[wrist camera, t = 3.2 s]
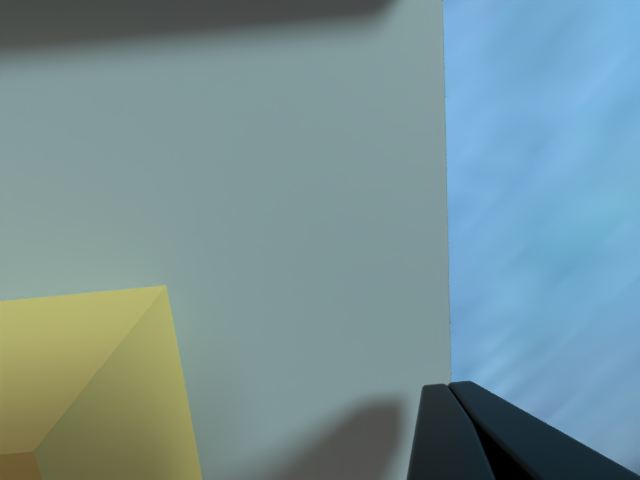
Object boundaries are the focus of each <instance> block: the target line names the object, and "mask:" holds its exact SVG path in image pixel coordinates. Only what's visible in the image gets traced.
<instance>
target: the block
mask: <svg viewBox="0 0 640 480" xmlns="http://www.w3.org/2000/svg"><path fill="white" fill-rule="evenodd" d="M0 480H202V475H201V469H200V464H199V458H198V453H197V448H196V442H195V437H194V431H193V426H192V421H191V415H190V410H189V404H188V399H187V394H186V388H185V383H184V378H183V372H182V367H181V361H180V356H179V351H178V345H177V340H176V334H175V329H174V324H173V318H172V313H171V307H170V302H169V297H168V291H167V286H155V287H145V288H134V289H124V290H113V291H103V292H92V293H82V294H71V295H61V296H50V297H39V298H29V299H18V300H8V301H0Z"/></svg>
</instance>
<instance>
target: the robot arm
mask: <svg viewBox="0 0 640 480" xmlns="http://www.w3.org/2000/svg"><path fill="white" fill-rule="evenodd" d="M406 480H640V476H639V475H637V474H636V473H634V472H632V471H630V470H628V469H627V468H625V467H623V466H621V465H620V464H618V463H616V462H614V461H612V460H611V459H609V458H607V457H605V456H603V455H602V454H600V453H598V452H596V451H595V450H593V449H591V448H589V447H587V446H586V445H584V444H582V443H580V442H579V441H577V440H575V439H573V438H571V437H570V436H568V435H566V434H564V433H563V432H561V431H559V430H557V429H555V428H554V427H552V426H550V425H548V424H547V423H545V422H543V421H541V420H539V419H538V418H536V417H534V416H532V415H531V414H529V413H527V412H525V411H523V410H522V409H520V408H518V407H516V406H515V405H513V404H511V403H509V402H507V401H506V400H504V399H502V398H500V397H499V396H497V395H495V394H493V393H491V392H490V391H488V390H486V389H484V388H483V387H481V386H479V385H477V384H475V383H474V382H471V381H461V382H451V383H449V384H448V385H446V384H443V383H441V384H430V385H424V386H423V387H422V391H421V396H420V402H419V408H418V414H417V420H416V426H415V432H414V438H413V443H412V449H411V455H410V461H409V467H408V473H407V479H406Z"/></svg>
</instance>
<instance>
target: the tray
mask: <svg viewBox="0 0 640 480" xmlns="http://www.w3.org/2000/svg"><path fill="white" fill-rule="evenodd" d="M155 286H167V291H168V297H169V302H170V307H171V313H172V318H173V324H174V329H175V334H176V340H177V345H178V351H179V356H180V361H181V367H182V372H183V378H184V383H185V388H186V394H187V399H188V404H189V410H190V415H191V421H192V426H193V431H194V437H195V442H196V448H197V453H198V458H199V464H200V469H201V475H202V480H406V479H407V473H408V467H409V461H410V455H411V449H412V443H413V438H414V432H415V426H416V420H417V414H418V408H419V402H420V396H421V391H422V387H423V386H424V385H430V384H441V383H443V384H446V385H448V384H449V383H451V346H450V301H449V256H448V211H447V166H446V121H445V76H444V31H443V0H0V301H8V300H18V299H29V298H39V297H50V296H61V295H71V294H82V293H92V292H103V291H113V290H124V289H134V288H145V287H155Z"/></svg>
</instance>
